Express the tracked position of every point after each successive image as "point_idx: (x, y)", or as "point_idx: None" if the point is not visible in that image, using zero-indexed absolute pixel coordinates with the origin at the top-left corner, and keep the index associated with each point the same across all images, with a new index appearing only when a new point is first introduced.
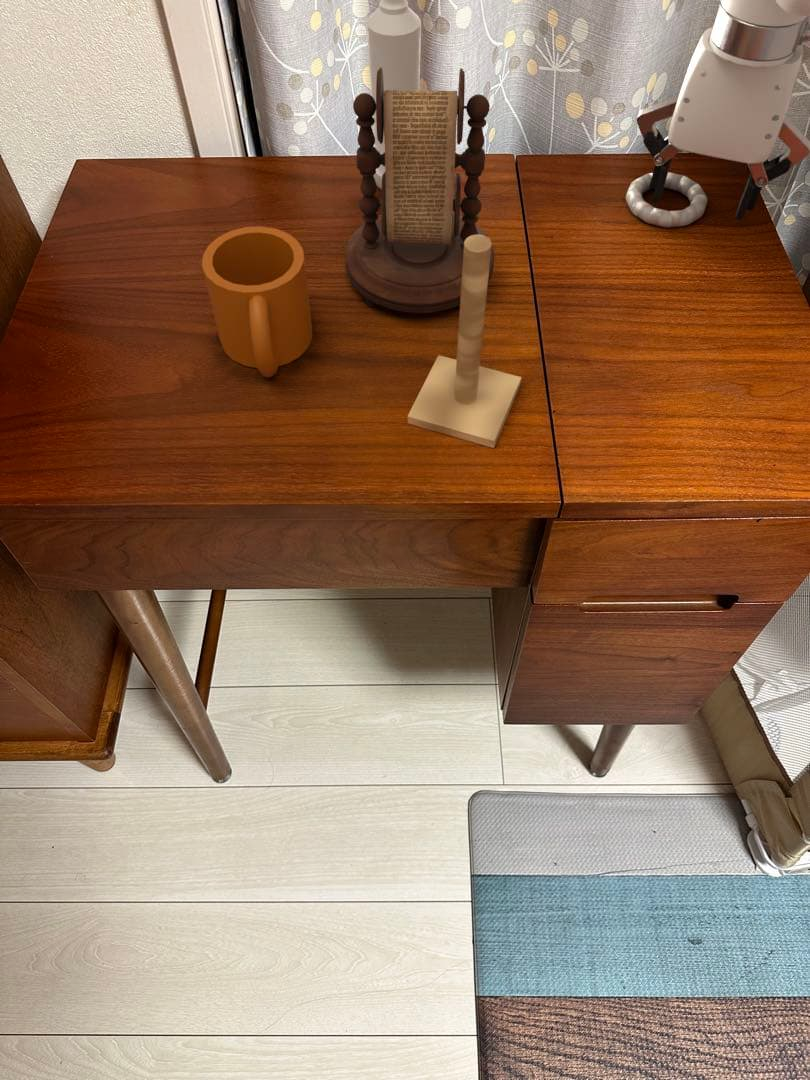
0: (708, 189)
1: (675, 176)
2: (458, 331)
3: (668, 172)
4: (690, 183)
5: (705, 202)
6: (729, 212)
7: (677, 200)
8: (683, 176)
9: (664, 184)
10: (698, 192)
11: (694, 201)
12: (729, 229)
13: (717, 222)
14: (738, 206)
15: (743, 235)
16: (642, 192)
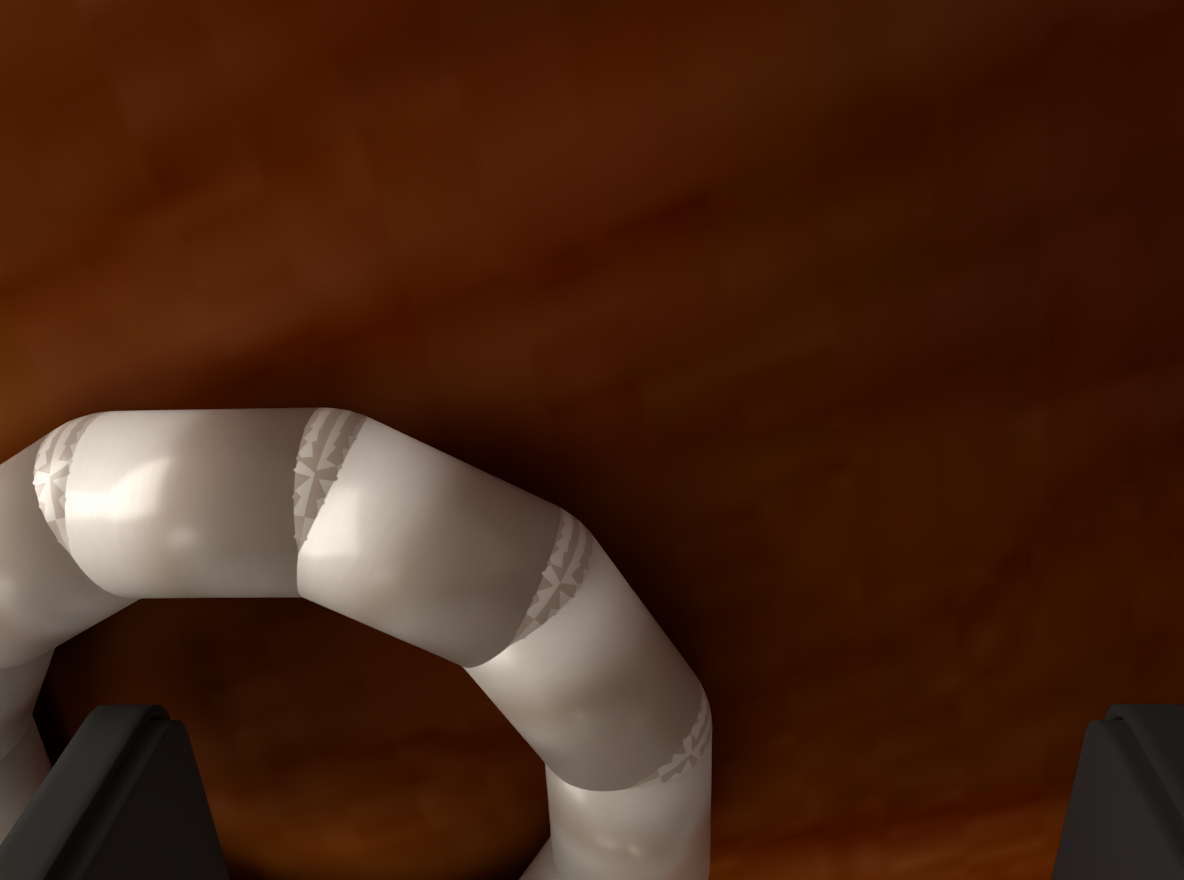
0: (687, 312)
1: (213, 579)
2: None
3: (93, 517)
4: (441, 647)
5: (696, 818)
6: (976, 628)
7: None
8: (307, 544)
9: (165, 784)
10: (582, 769)
11: (577, 873)
12: (984, 841)
13: (862, 791)
14: (1079, 763)
15: None
16: None
